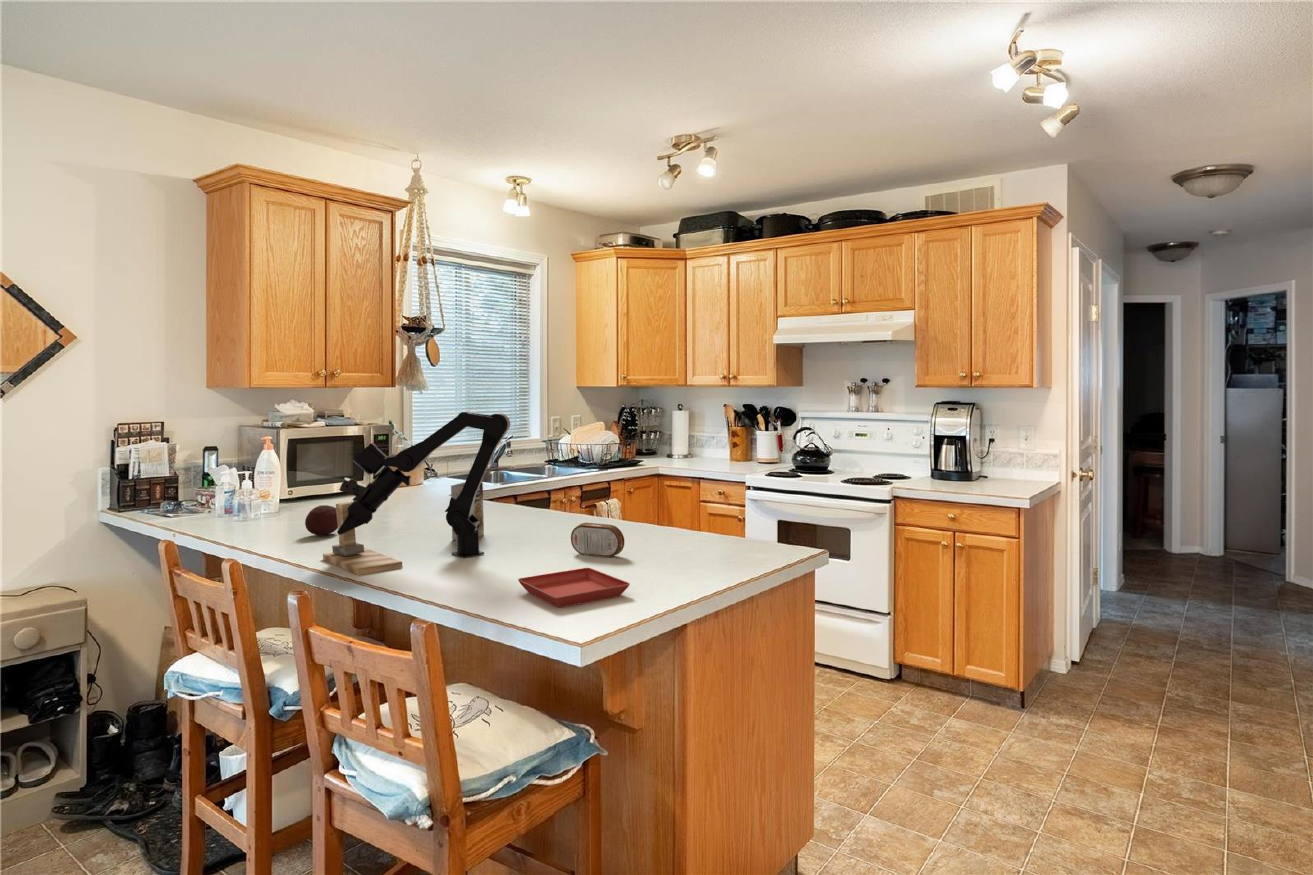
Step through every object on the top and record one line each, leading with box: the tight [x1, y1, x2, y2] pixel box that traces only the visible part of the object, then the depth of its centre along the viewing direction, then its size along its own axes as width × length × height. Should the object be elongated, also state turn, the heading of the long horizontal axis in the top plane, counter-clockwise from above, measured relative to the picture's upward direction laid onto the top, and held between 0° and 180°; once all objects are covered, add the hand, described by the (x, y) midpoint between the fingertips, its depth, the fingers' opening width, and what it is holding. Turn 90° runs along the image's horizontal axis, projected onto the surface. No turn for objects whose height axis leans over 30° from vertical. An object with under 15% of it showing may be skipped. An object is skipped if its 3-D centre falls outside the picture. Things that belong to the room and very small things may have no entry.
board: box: [322, 547, 403, 576], centre depth 199 cm, size 24×11×2 cm, turn 42°
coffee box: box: [450, 481, 485, 541], centre depth 232 cm, size 9×6×16 cm
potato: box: [304, 504, 338, 537], centre depth 238 cm, size 9×12×9 cm
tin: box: [570, 522, 626, 558], centre depth 205 cm, size 15×3×8 cm, turn 65°
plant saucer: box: [517, 567, 631, 608], centre depth 167 cm, size 18×18×3 cm
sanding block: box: [331, 501, 365, 556], centre depth 203 cm, size 7×5×13 cm
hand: (339, 532), depth 202 cm, fingers closed on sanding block, 4 cm apart
